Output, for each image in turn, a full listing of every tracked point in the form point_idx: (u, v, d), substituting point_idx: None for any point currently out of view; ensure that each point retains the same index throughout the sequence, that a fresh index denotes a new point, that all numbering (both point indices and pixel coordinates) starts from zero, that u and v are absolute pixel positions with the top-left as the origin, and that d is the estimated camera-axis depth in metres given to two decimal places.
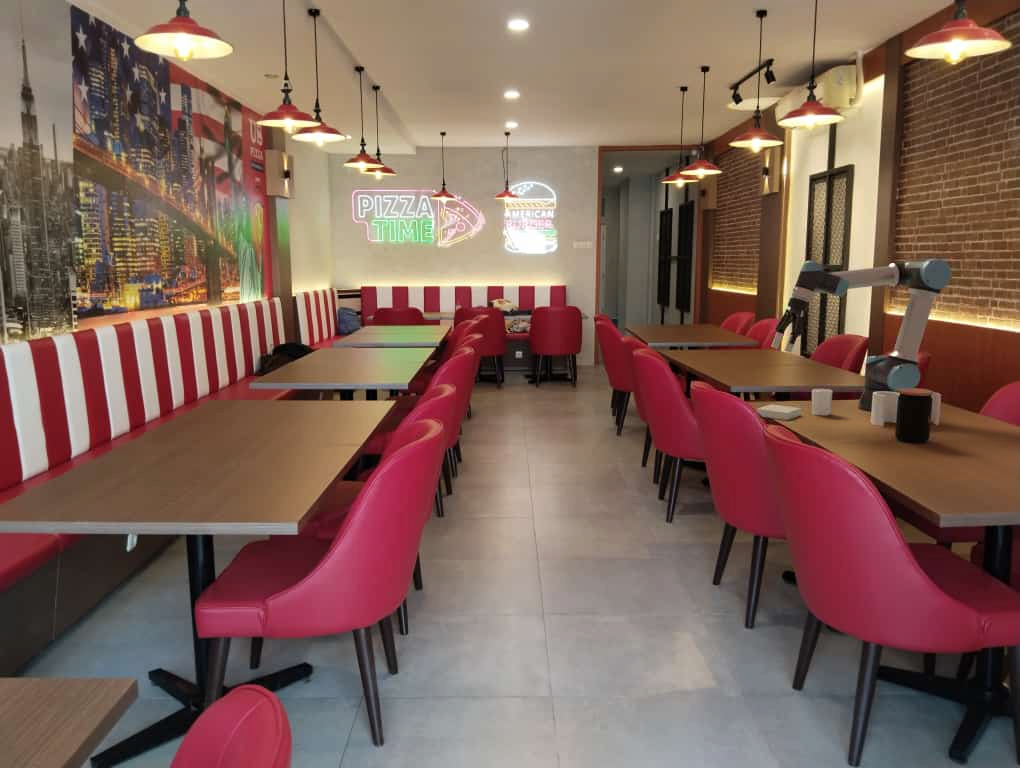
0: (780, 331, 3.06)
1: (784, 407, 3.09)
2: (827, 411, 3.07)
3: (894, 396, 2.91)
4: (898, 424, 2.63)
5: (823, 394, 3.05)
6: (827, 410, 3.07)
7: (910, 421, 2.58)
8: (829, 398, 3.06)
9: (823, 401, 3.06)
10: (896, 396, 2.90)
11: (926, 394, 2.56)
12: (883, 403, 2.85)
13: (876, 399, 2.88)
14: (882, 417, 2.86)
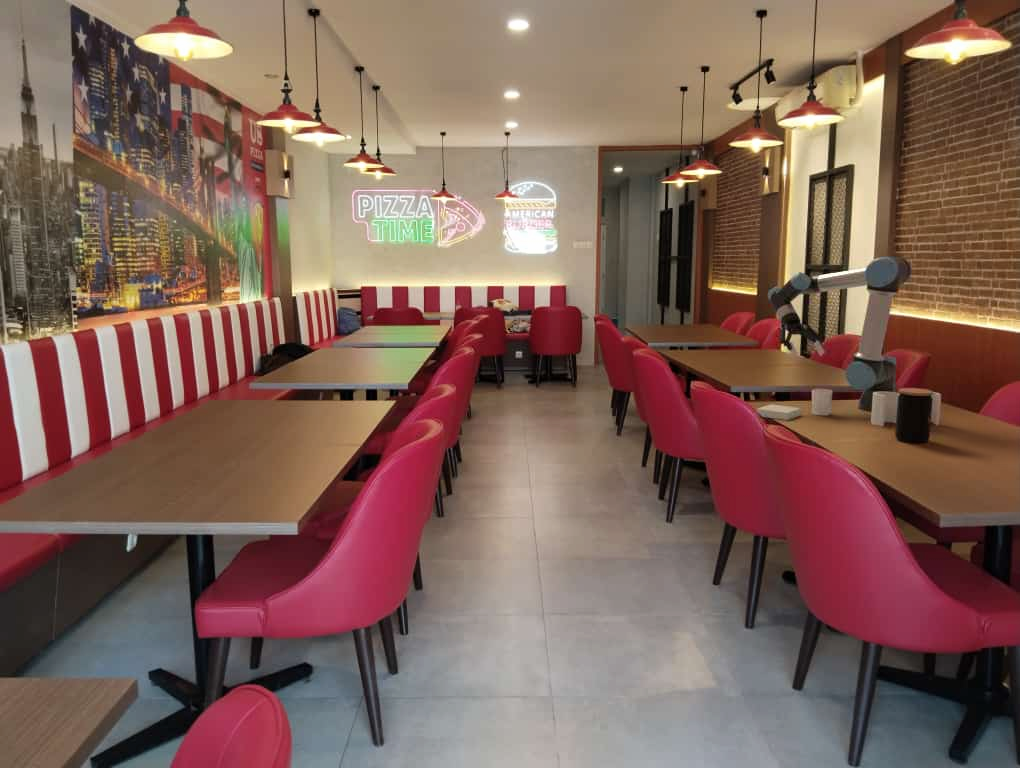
0: (816, 341, 3.23)
1: (784, 407, 3.09)
2: (827, 411, 3.07)
3: (894, 396, 2.91)
4: (898, 424, 2.63)
5: (823, 394, 3.05)
6: (827, 410, 3.07)
7: (910, 421, 2.58)
8: (829, 398, 3.06)
9: (823, 401, 3.06)
10: (896, 396, 2.90)
11: (926, 394, 2.56)
12: (883, 403, 2.85)
13: (876, 399, 2.87)
14: (882, 417, 2.85)
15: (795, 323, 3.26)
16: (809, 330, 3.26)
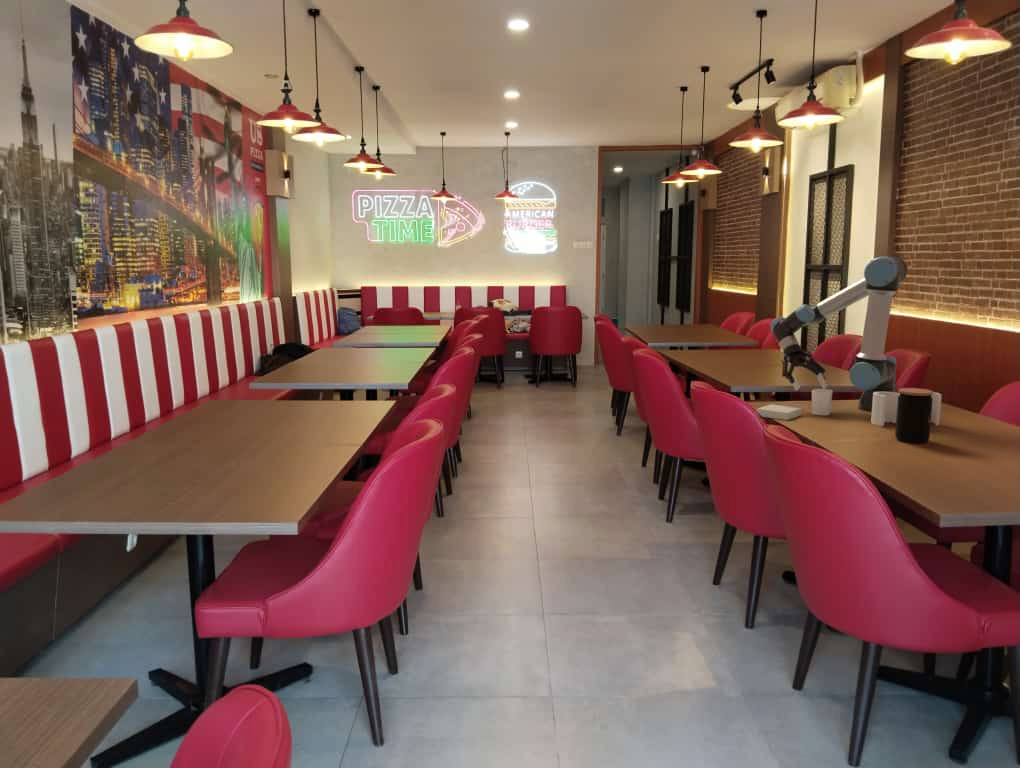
0: (819, 373, 3.20)
1: (784, 407, 3.09)
2: (827, 411, 3.07)
3: (894, 396, 2.90)
4: (898, 424, 2.63)
5: (823, 394, 3.05)
6: (827, 410, 3.07)
7: (910, 420, 2.58)
8: (829, 398, 3.06)
9: (823, 401, 3.06)
10: (896, 396, 2.90)
11: (926, 394, 2.56)
12: (883, 403, 2.84)
13: (876, 400, 2.87)
14: (882, 417, 2.85)
15: (798, 355, 3.22)
16: (812, 362, 3.22)
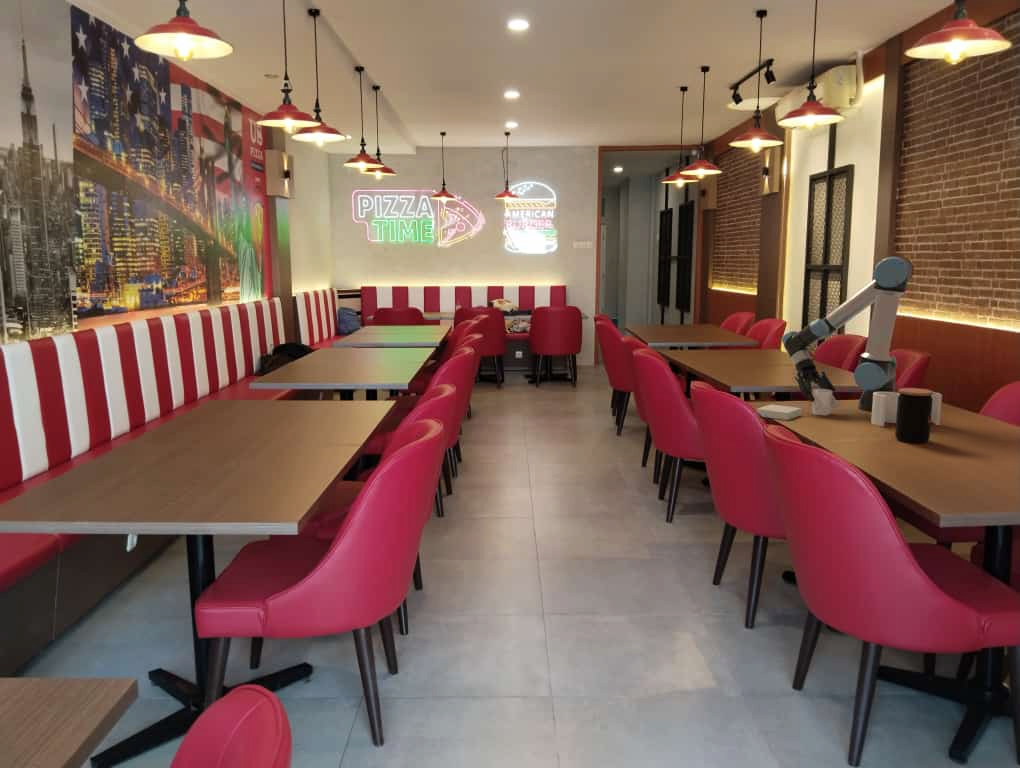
0: None
1: (784, 407, 3.09)
2: (827, 411, 3.07)
3: (895, 396, 2.90)
4: (898, 424, 2.63)
5: (823, 394, 3.05)
6: (827, 410, 3.07)
7: (910, 420, 2.58)
8: (829, 398, 3.06)
9: (823, 401, 3.06)
10: (897, 396, 2.89)
11: (926, 394, 2.56)
12: (883, 403, 2.84)
13: (876, 400, 2.87)
14: (882, 417, 2.85)
15: (810, 370, 3.16)
16: (824, 379, 3.15)
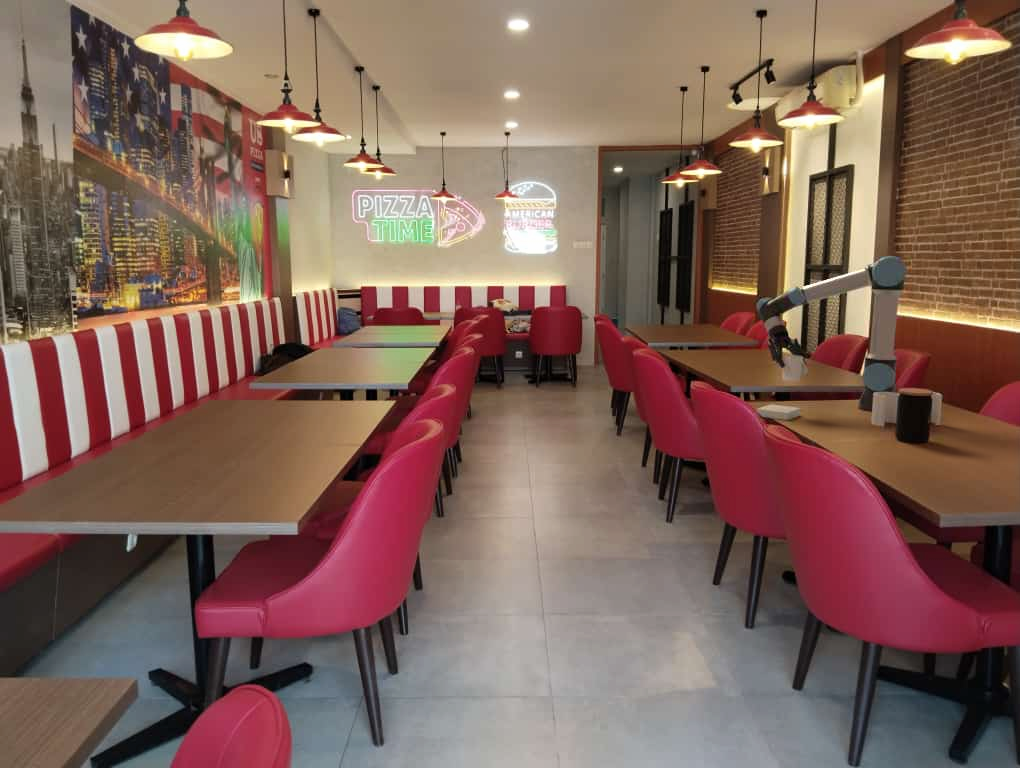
0: None
1: (784, 407, 3.09)
2: (797, 377, 3.05)
3: (895, 396, 2.90)
4: (898, 424, 2.63)
5: (794, 360, 3.03)
6: (797, 376, 3.05)
7: (910, 421, 2.58)
8: (799, 364, 3.03)
9: (793, 367, 3.03)
10: (897, 396, 2.89)
11: (926, 394, 2.56)
12: (883, 403, 2.84)
13: (876, 400, 2.87)
14: (882, 417, 2.85)
15: (783, 336, 3.13)
16: (796, 345, 3.12)
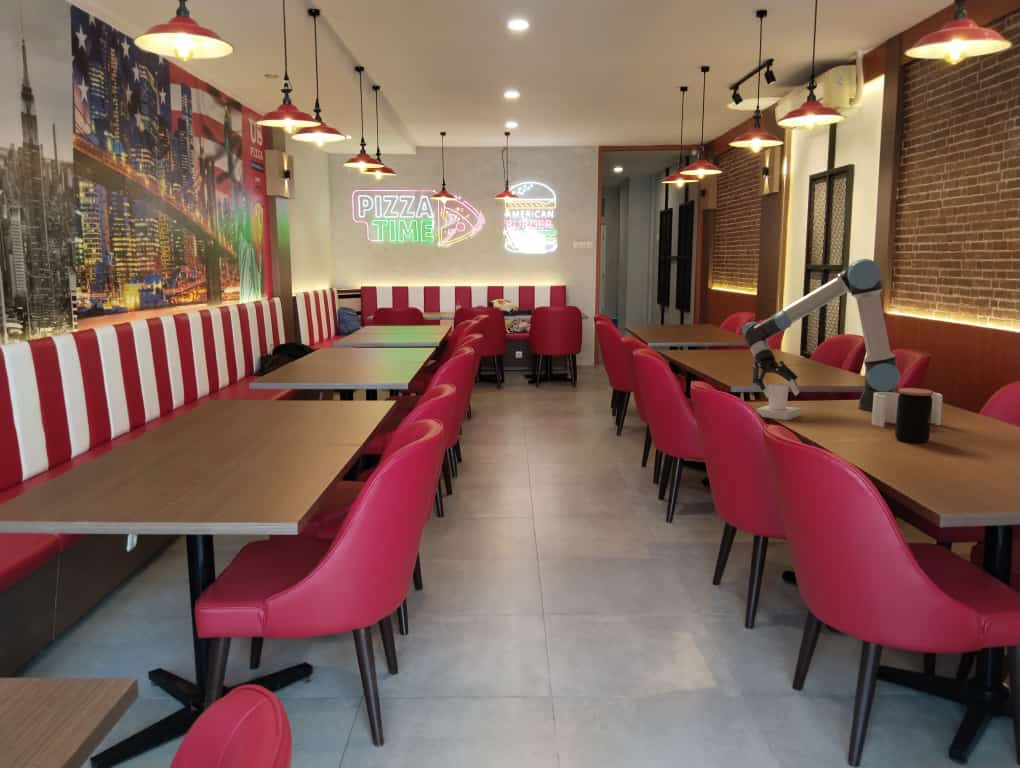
0: (790, 379, 3.10)
1: None
2: (783, 405, 3.04)
3: (895, 397, 2.90)
4: (898, 424, 2.63)
5: (779, 388, 3.02)
6: (783, 404, 3.04)
7: (910, 421, 2.58)
8: (785, 392, 3.03)
9: (779, 395, 3.02)
10: (897, 397, 2.89)
11: (926, 394, 2.56)
12: (883, 403, 2.84)
13: (876, 400, 2.87)
14: (882, 418, 2.85)
15: (769, 361, 3.12)
16: (784, 368, 3.12)
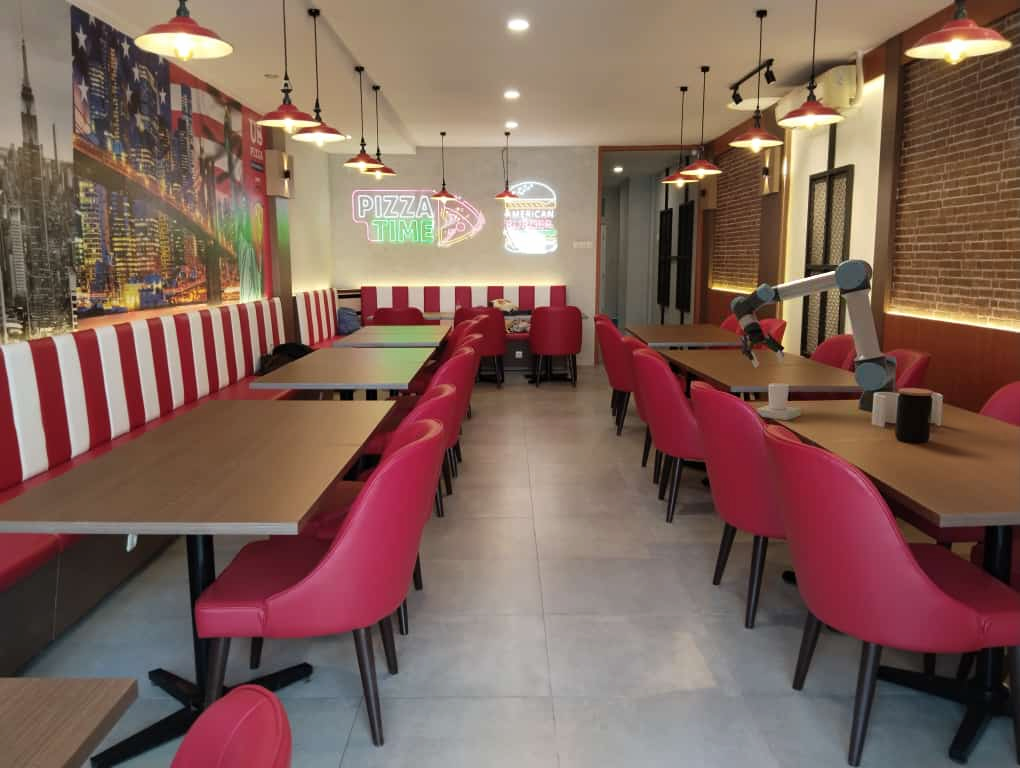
0: (777, 350, 3.25)
1: None
2: (783, 406, 3.04)
3: (895, 397, 2.89)
4: (898, 424, 2.63)
5: (779, 388, 3.02)
6: (783, 405, 3.04)
7: (910, 421, 2.58)
8: (785, 392, 3.03)
9: (779, 395, 3.02)
10: (897, 397, 2.89)
11: (926, 394, 2.56)
12: (883, 404, 2.83)
13: (876, 400, 2.86)
14: (882, 418, 2.84)
15: (757, 333, 3.27)
16: (771, 340, 3.27)
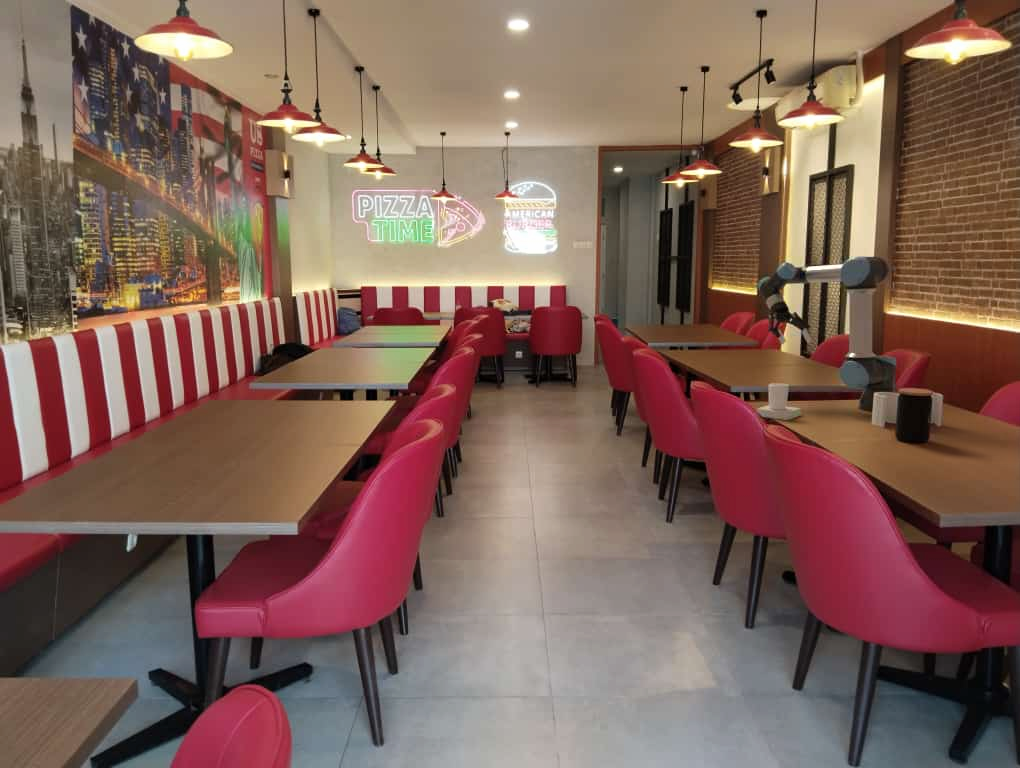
0: (804, 329, 3.34)
1: None
2: (783, 406, 3.04)
3: (895, 397, 2.89)
4: (898, 424, 2.63)
5: (779, 388, 3.02)
6: (783, 405, 3.04)
7: (910, 420, 2.58)
8: (785, 392, 3.03)
9: (779, 395, 3.02)
10: (897, 397, 2.88)
11: (926, 394, 2.56)
12: (884, 404, 2.83)
13: (876, 400, 2.86)
14: (883, 418, 2.84)
15: (784, 312, 3.37)
16: (797, 318, 3.37)
